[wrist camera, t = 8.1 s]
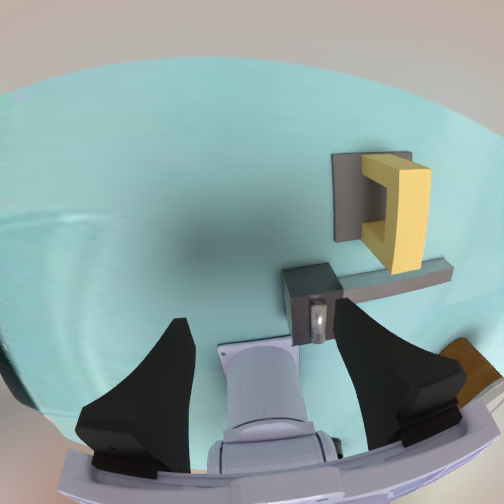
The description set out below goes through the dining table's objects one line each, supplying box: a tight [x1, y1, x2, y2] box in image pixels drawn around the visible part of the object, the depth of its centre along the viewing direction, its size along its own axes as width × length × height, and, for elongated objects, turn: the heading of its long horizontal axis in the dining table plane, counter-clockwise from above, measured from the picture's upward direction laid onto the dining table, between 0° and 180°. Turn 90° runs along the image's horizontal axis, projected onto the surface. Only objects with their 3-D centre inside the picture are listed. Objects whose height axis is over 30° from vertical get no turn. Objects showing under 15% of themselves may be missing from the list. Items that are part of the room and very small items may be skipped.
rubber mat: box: [331, 152, 412, 242], centre depth 21 cm, size 7×7×1 cm
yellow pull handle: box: [361, 154, 432, 275], centre depth 18 cm, size 7×2×6 cm, turn 7°
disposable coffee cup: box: [440, 338, 504, 414], centre depth 27 cm, size 10×10×12 cm
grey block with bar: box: [282, 258, 454, 346], centre depth 22 cm, size 5×17×5 cm, turn 97°
